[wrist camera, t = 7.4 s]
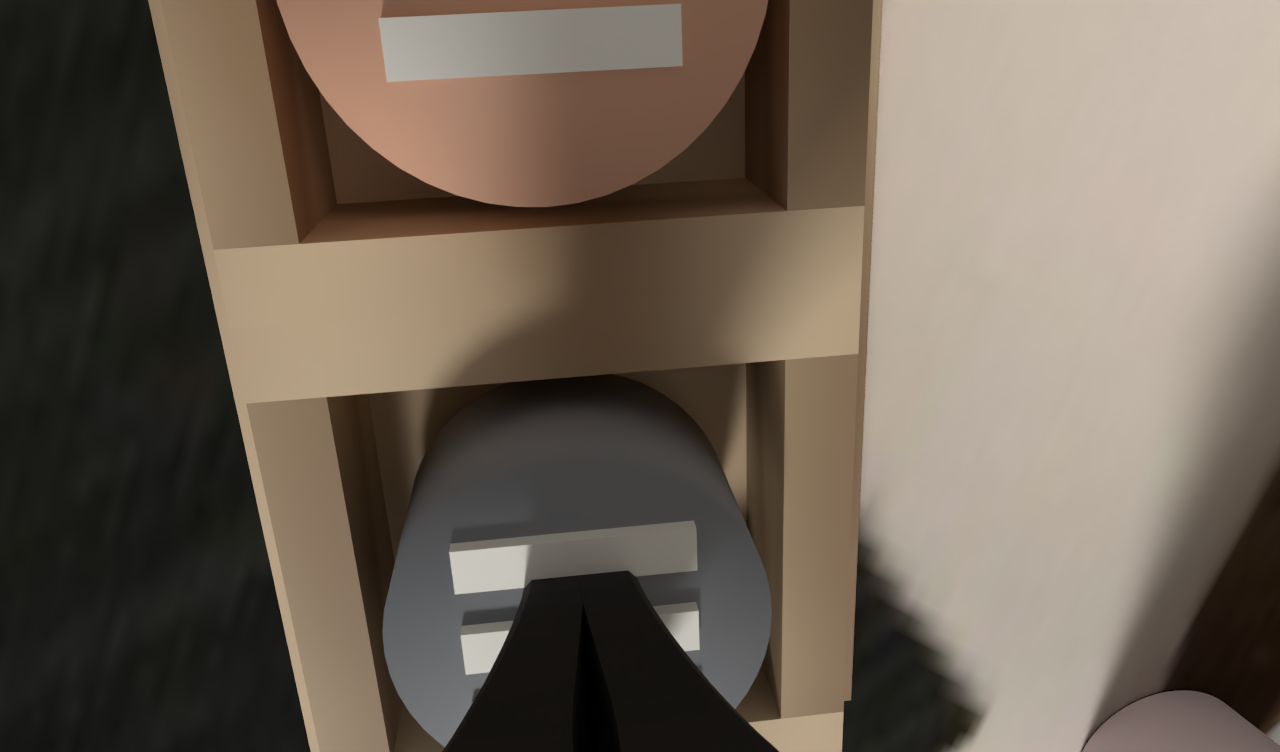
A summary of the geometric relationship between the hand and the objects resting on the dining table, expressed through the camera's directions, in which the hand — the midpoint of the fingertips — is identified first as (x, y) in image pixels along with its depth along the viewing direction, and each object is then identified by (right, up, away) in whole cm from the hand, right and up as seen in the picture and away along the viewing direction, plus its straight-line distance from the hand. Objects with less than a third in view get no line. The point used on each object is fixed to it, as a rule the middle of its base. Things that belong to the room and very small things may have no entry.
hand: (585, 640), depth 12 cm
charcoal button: (0, +1, +3) cm, 3 cm away
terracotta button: (-1, +9, 0) cm, 9 cm away
